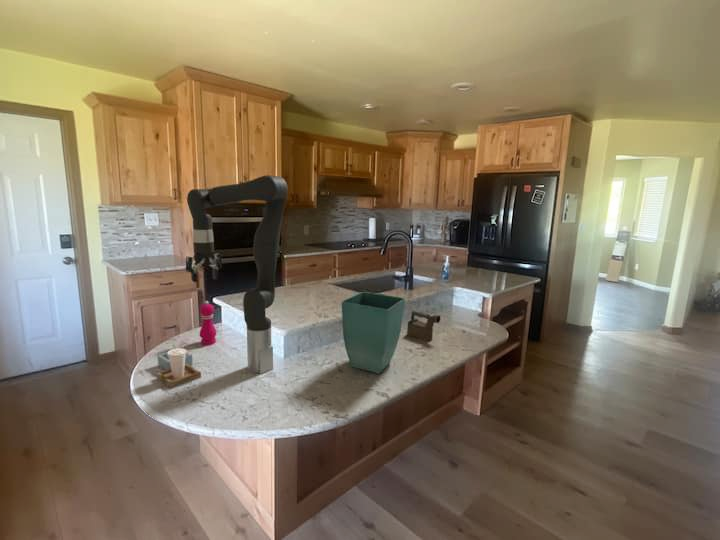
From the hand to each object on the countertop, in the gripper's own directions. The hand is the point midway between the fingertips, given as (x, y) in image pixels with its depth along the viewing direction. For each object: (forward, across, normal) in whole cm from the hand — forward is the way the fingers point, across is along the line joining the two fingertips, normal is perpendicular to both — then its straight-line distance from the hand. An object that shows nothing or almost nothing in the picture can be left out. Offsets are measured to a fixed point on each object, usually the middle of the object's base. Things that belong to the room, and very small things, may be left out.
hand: (205, 280), depth 151 cm
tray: (+33, -17, -9) cm, 38 cm away
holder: (+33, -13, +2) cm, 36 cm away
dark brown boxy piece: (+33, +84, -55) cm, 106 cm away
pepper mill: (+33, +8, +14) cm, 37 cm away
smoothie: (+32, -17, -9) cm, 38 cm away
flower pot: (+33, +41, -55) cm, 76 cm away
